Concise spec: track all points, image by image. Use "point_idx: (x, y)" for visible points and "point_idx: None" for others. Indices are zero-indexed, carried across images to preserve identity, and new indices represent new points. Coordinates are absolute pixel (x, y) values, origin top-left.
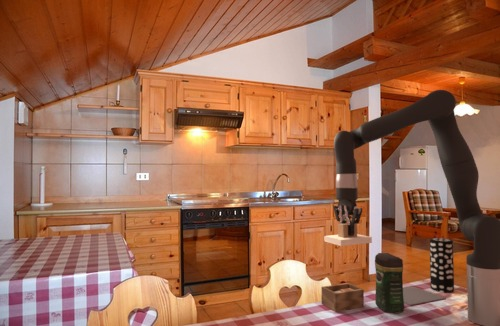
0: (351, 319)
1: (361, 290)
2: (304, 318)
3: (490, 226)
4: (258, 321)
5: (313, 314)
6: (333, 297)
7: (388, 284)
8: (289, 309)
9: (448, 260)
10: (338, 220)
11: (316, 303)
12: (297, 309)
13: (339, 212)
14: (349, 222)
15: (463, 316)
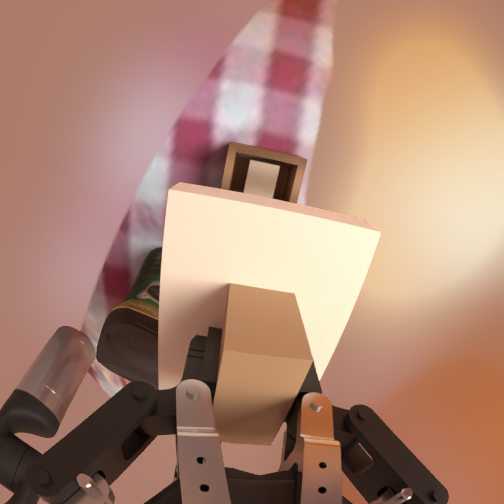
0: (176, 142)
1: None
2: (249, 48)
3: None
4: None
5: (255, 82)
6: (239, 144)
7: (135, 285)
8: (318, 58)
9: (176, 464)
10: (350, 411)
11: (308, 147)
12: (306, 73)
13: (340, 477)
14: (183, 398)
15: (97, 342)
